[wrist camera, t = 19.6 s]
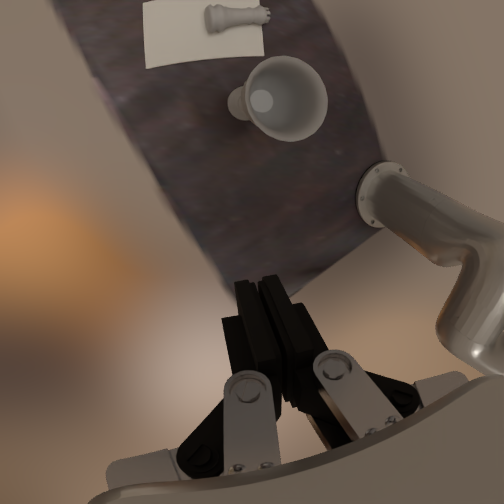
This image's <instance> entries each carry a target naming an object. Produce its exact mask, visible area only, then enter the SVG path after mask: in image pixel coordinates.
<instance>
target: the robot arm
mask: <svg viewBox="0 0 504 504" xmlns="http://www.w3.org/2000/svg"><path fill="white" fill-rule="evenodd" d="M356 207H357V211H358V213H359V215H360V217H361V218H362V219H363V220H364V221H365V222H366V223H367V224H369V225H370V226H372V227H376V228H383V227H387V228H388V229H390V230H391V231H392V232H394V233H395V234H397V235H398V236H399V237H401V238H402V239H403V240H404V241H406V242H407V243H408V244H409V245H411V246H412V247H413V248H415V249H416V250H417V251H418V252H420V253H421V254H422V255H423V256H425V257H426V258H427V259H429V260H430V261H431V262H432V263H434V264H436V265H438V266H442V267H451V266H457V265H462V269H461V272H460V274H459V276H458V279H457V281H456V283H455V285H454V287H453V289H452V291H451V293H450V295H449V297H448V298H447V300H446V302H445V304H444V306H443V308H442V310H441V312H440V314H439V316H438V318H437V322H436V328H435V329H436V335H437V337H438V339H439V341H440V342H441V344H442V345H443V346H444V347H445V348H446V349H447V350H448V351H449V352H450V353H452V354H453V355H455V356H456V357H457V358H459V359H460V360H462V361H464V362H465V363H467V364H468V365H470V366H471V367H473V368H475V369H476V370H478V371H479V372H481V373H483V374H484V375H486V376H483V377H479V378H477V379H474V380H471V381H468V379H467V378H466V376H465V375H464V374H462V373H461V372H457V371H453V372H449V373H445V374H442V375H438V376H434V377H431V378H427V379H423V380H419V381H415V382H414V384H411V385H410V384H407V383H405V382H401V381H398V380H394V379H391V378H387V377H384V376H381V375H377V374H374V373H371V372H368V371H364V370H363V369H362V368H361V366H360V365H359V364H358V363H357V362H356V360H354V358H353V357H352V356H351V355H349V354H348V353H346V352H344V351H341V350H328V348H327V346H326V344H325V342H324V340H323V339H322V337H321V335H320V333H319V331H318V329H317V328H316V326H315V324H314V322H313V320H312V318H311V317H310V315H309V313H308V311H307V309H306V308H305V306H304V304H303V303H297V304H292V303H291V301H290V299H289V297H288V295H287V293H286V291H285V289H284V287H283V285H282V284H281V282H280V280H279V278H278V276H277V275H276V274H275V275H270V276H264V277H262V281H258V291H257V288H256V285H255V283H254V282H252V283H249V280H242V281H237V282H234V285H235V293H236V300H237V307H238V315H237V316H231V317H226V318H222V324H223V330H224V335H225V340H226V345H227V350H228V355H229V360H230V365H231V370H232V376H231V377H230V378H229V379H228V380H227V382H226V383H225V386H224V398H223V399H222V400H221V402H220V403H219V404H218V405H217V406H216V407H215V408H214V409H213V410H212V412H211V413H210V414H209V415H208V416H207V417H206V418H205V419H204V420H203V421H202V423H201V424H200V425H199V426H198V427H197V428H196V429H195V430H194V431H193V432H192V433H191V434H190V435H189V436H188V438H187V439H186V440H185V441H184V442H183V443H182V444H181V445H180V447H178V448H175V449H172V450H168V449H163V450H160V451H156V452H152V453H148V454H144V455H139V456H135V457H130V458H126V459H120V460H117V461H114V462H112V463H111V464H110V465H109V466H108V468H107V470H106V480H107V484H108V488H109V490H108V491H106V492H103V493H101V494H99V495H97V496H95V497H94V498H93V499H91V500H90V501H89V502H88V504H504V332H502V331H503V330H504V223H502V222H500V221H497V220H495V219H492V218H490V217H488V216H485V215H483V214H481V213H479V212H477V211H475V210H473V209H471V208H469V207H467V206H465V205H464V204H462V203H460V202H458V201H456V200H454V199H452V198H450V197H448V196H446V195H444V194H442V193H440V192H438V191H436V190H434V189H432V188H430V187H428V186H426V185H424V184H422V183H420V182H418V181H415V180H413V179H411V178H410V177H409V175H408V173H407V171H406V170H405V169H404V168H403V167H402V166H401V165H400V164H398V163H395V162H392V161H381V162H378V163H376V164H374V165H373V166H371V167H370V168H369V169H368V170H367V171H366V172H365V173H364V175H363V177H362V178H361V180H360V182H359V185H358V188H357V192H356ZM258 292H259V293H258ZM282 395H283V398H284V400H285V402H288V401H290V403H291V405H292V408H294V407H297V408H298V410H299V411H301V412H303V413H306V416H307V418H308V420H309V422H310V423H311V425H312V426H313V428H314V430H315V431H316V433H317V435H318V436H319V438H320V440H321V441H322V443H323V444H324V446H325V448H326V449H327V451H326V452H324V453H320V454H318V455H314V456H311V457H308V458H304V459H301V460H298V461H294V462H290V463H286V464H283V465H281V458H280V451H279V442H278V435H277V426H276V422H277V420H278V419H279V417H280V416H281V402H282Z"/></svg>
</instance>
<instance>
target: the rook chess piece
mask: <svg viewBox="0 0 504 504" xmlns="http://www.w3.org/2000/svg"><path fill="white" fill-rule="evenodd" d="M266 10H268V8H264V7H262V6H261V5H258V6H257V7H255V8H250V7H247V8H229V7H227V6H225V7H224V6H222V5H220V4H216V5H215V6H214V7H213V6H212V5H211V4H210V5H208V6H207V7H206V8H205V25H206V28H207V31H208V32H211V33H214V31H215V30H216V31H218V32H221V31H223V30H224V29H225V28H228V27H230V26H233V25H238V24H246V23H247V24H249V25H250V24H251V23H256V24H258V25H262V24H264V23H268V22H269V21H268V20H270V17H267V14H270V11H266Z"/></svg>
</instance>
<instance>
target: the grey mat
mask: <svg viewBox="0 0 504 504" xmlns="http://www.w3.org/2000/svg"><path fill="white" fill-rule="evenodd" d="M210 4H211V5H212V6H213V7H214V6H215V5H216V4H220V5H222V6H224V7H225V6H227V7H229V8H247V7H250V8H255V7H257V6H258V5H259V0H156V1H150V2H146V3H143V28H144V47H145V62H146V69H150V68H155V67H161V66H166V65H172V64H178V63H185V62H192V61H200V60H209V59H220V58H234V57H261V56H264V48H263V36H262V25H258V24H256V23H251V24H250V25H249V24H247V23H246V24H238V25H233V26H230V27H228V28H225V29H224V30H223V31H221V32H218V31H216V30H215V31H214V33H211V32H208V31H207V28H206V25H205V8H206V7H207V6H208V5H210Z"/></svg>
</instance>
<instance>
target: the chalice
mask: <svg viewBox="0 0 504 504" xmlns="http://www.w3.org/2000/svg"><path fill="white" fill-rule="evenodd" d="M327 104H328V98H327V93H326V89H325V86H324V84H323V82H322V80H321V78H320V76H319V75H318V74H317V72H316V71H315V70H314V69H313V68H312V67H311V66H310V65H308V64H306V63H305V62H303V61H301V60H300V59H297V58H293V57H288V56H278V57H271V58H269V59H267V60H265V61H263V62H261V63H259V64H258V66H257V67H256V68H255V69H254V70H253V71H252V72H251V73H250V76H249V78H248V79H247V81H246V82H245V83H244V86H242V87H238V88H237V89H235V90H233V92H232V93H231V94H230V96H229V98H228V104H227V105H228V109H229V111H230V112H231V114H232V115H233V116H234V117H236V118H237V119H240V120H250V121H251V122H252V123H254V124H255V125H256V126H258V127H259V128H260V129H261V130H262V131H263V132H264V133H265V134H267V135H269V136H271V137H273V138H275V139H277V140H282V141H289V142H293V141H298V140H303V139H305V138H307V137H309V136H310V135H312V134H314V133H315V132H316V131H317V129H318V128H319V127H320V126H321V125H322V123H323V121H324V118H325V115H326V113H327Z"/></svg>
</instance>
